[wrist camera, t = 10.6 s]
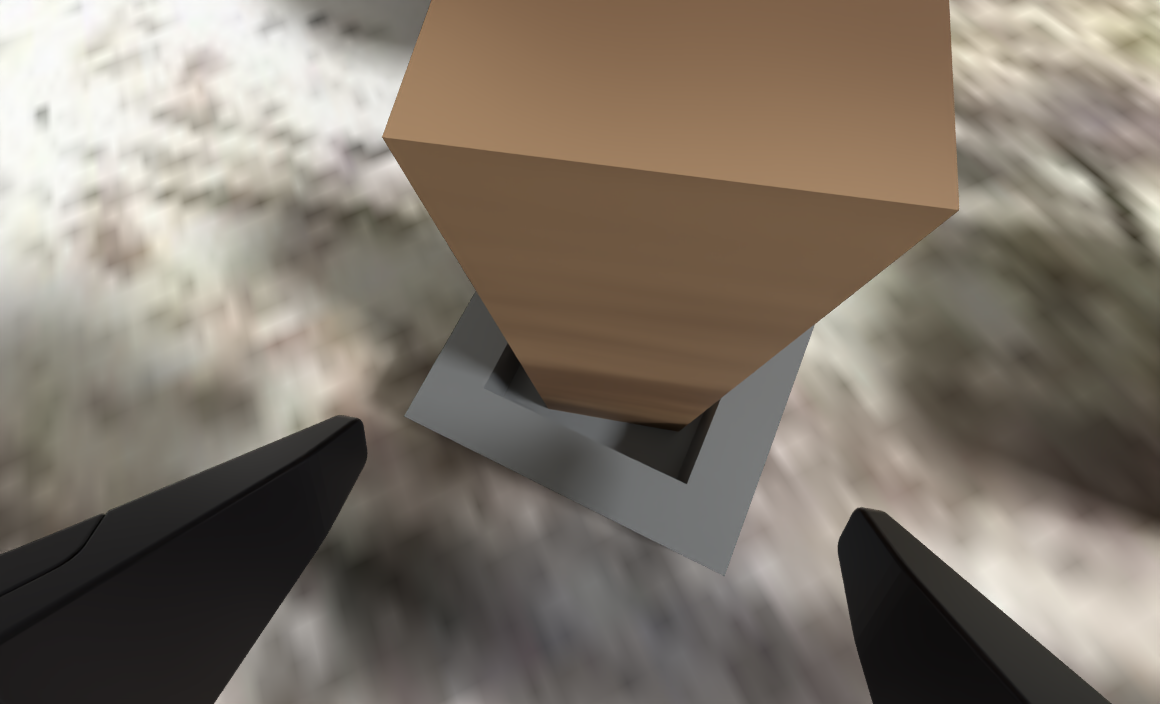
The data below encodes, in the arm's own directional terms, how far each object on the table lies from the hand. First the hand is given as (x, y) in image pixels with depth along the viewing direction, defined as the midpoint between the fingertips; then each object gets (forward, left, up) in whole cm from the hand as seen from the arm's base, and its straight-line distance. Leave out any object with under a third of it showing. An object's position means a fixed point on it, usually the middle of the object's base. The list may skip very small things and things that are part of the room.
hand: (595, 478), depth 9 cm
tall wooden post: (+4, +1, -7) cm, 9 cm away
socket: (+4, +1, -8) cm, 9 cm away
